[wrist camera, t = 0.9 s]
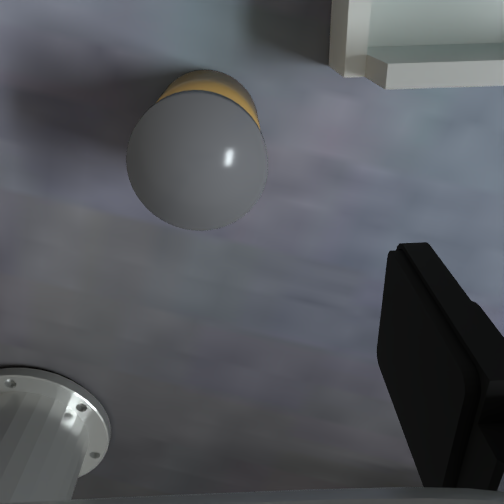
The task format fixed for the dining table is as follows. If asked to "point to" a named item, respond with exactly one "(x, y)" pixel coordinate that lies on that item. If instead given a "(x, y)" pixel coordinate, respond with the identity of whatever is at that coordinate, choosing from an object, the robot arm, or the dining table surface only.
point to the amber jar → (199, 153)
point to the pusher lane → (419, 42)
